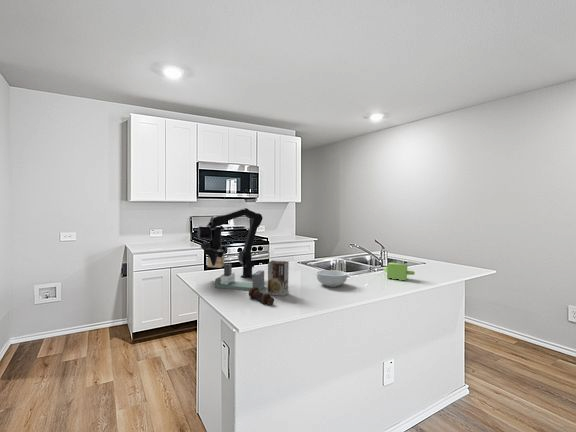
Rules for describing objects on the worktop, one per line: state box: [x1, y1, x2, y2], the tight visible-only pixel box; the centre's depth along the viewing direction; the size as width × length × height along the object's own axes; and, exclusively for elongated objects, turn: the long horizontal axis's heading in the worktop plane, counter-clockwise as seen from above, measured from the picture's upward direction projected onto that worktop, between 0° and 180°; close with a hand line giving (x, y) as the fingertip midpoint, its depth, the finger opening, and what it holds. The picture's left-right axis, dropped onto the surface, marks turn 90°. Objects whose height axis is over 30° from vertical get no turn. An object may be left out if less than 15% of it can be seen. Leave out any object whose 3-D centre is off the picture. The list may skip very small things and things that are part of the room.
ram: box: [220, 263, 236, 285], centre depth 176 cm, size 9×4×10 cm, turn 166°
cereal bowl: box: [316, 269, 348, 288], centre depth 182 cm, size 17×17×7 cm
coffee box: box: [267, 260, 290, 297], centre depth 163 cm, size 9×6×16 cm
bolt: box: [248, 287, 275, 305], centre depth 151 cm, size 6×5×15 cm
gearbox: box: [383, 262, 416, 281], centre depth 199 cm, size 18×10×10 cm, turn 62°
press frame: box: [214, 270, 265, 291], centre depth 174 cm, size 10×24×8 cm, turn 76°
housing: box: [206, 256, 225, 269], centre depth 188 cm, size 6×8×5 cm
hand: (216, 264), depth 189 cm, fingers closed on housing, 6 cm apart
